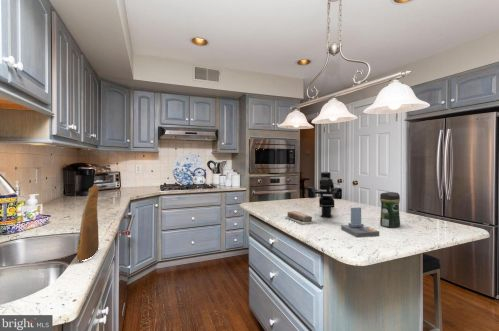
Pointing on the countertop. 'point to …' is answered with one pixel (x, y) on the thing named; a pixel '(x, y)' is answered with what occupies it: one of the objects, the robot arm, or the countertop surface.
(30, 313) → the countertop surface
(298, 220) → the packaged product
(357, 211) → the switch lever
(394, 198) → the coffee jar
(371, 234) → the switch box
